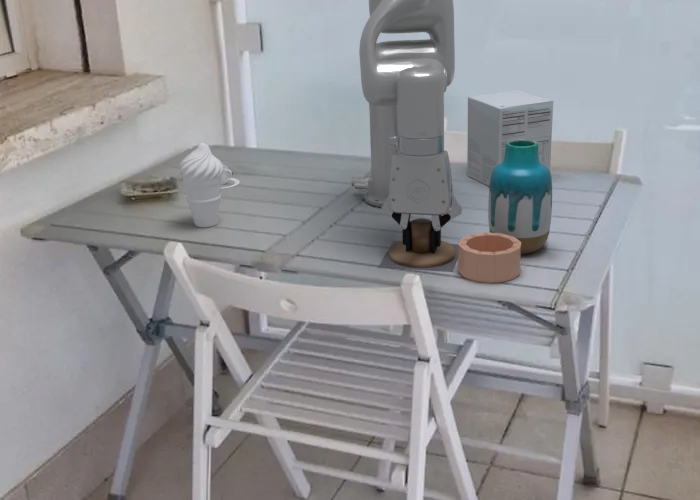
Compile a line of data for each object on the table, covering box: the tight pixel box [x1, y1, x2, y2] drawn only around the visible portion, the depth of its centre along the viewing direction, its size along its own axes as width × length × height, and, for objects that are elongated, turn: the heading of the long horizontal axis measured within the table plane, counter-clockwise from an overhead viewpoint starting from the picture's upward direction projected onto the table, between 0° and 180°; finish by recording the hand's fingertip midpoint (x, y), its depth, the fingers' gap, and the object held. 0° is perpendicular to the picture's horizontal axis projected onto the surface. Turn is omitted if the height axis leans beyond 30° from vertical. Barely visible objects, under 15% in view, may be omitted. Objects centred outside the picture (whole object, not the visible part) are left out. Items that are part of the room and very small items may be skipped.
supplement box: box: [466, 89, 554, 187], centre depth 198 cm, size 13×13×18 cm
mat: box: [378, 240, 459, 273], centre depth 161 cm, size 12×12×1 cm
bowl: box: [457, 232, 522, 284], centre depth 152 cm, size 10×10×5 cm
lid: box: [388, 218, 455, 268], centre depth 159 cm, size 11×11×6 cm
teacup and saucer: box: [220, 164, 241, 190], centre depth 206 cm, size 9×8×4 cm
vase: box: [487, 139, 553, 255], centre depth 159 cm, size 11×11×19 cm
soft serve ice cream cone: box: [178, 142, 224, 228], centre depth 178 cm, size 8×8×16 cm
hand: (421, 248), depth 160 cm, fingers closed on lid, 3 cm apart
